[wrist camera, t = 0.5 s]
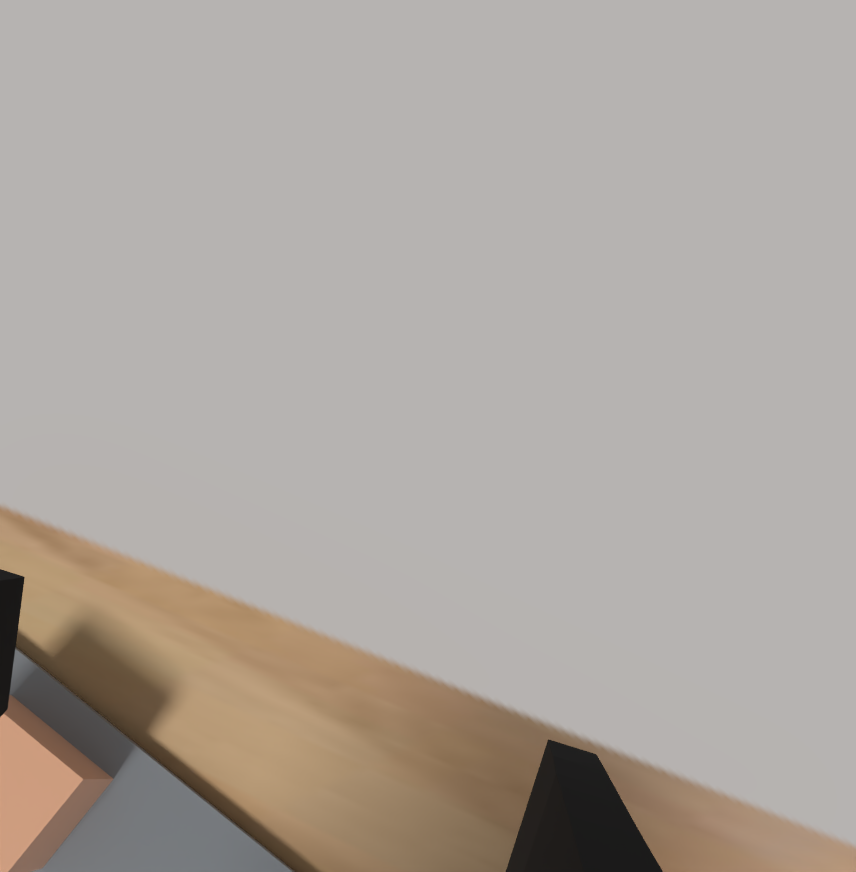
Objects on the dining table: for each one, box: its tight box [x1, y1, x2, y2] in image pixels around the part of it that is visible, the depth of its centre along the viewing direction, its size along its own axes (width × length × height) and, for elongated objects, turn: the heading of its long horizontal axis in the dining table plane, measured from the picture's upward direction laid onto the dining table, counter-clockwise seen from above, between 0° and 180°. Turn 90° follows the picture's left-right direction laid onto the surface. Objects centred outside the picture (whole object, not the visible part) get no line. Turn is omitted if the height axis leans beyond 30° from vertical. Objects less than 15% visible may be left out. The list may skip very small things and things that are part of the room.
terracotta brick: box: [0, 695, 113, 872], centre depth 30 cm, size 4×6×4 cm, turn 56°
